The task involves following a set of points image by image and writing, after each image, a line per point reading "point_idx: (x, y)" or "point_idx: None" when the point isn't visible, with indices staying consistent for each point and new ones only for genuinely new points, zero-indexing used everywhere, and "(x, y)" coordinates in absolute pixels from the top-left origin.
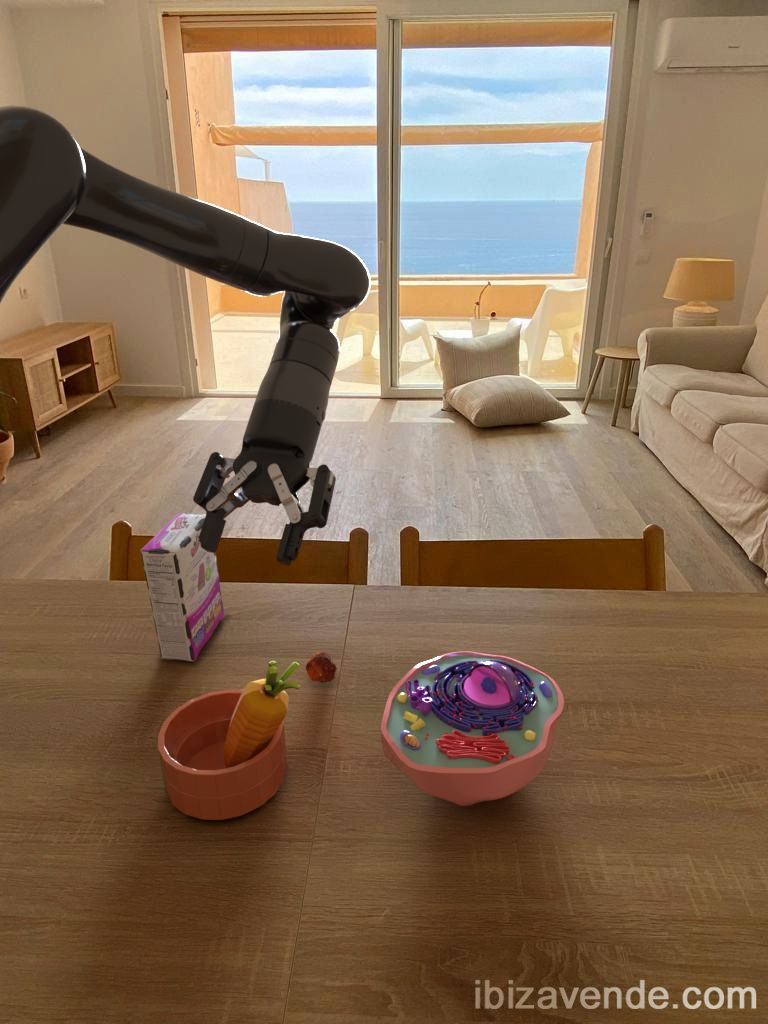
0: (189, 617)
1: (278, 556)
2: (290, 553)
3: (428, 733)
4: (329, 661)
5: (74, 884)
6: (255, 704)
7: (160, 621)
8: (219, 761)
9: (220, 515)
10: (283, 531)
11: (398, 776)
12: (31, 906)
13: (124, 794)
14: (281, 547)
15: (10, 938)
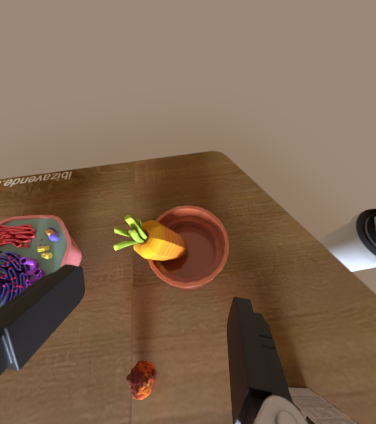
0: None
1: (73, 266)
2: (47, 275)
3: (39, 246)
4: (130, 378)
5: (229, 187)
6: (151, 221)
7: (332, 410)
8: (195, 258)
9: (246, 416)
10: (28, 306)
11: (87, 269)
12: (240, 177)
13: (239, 232)
14: (57, 276)
15: (238, 167)
